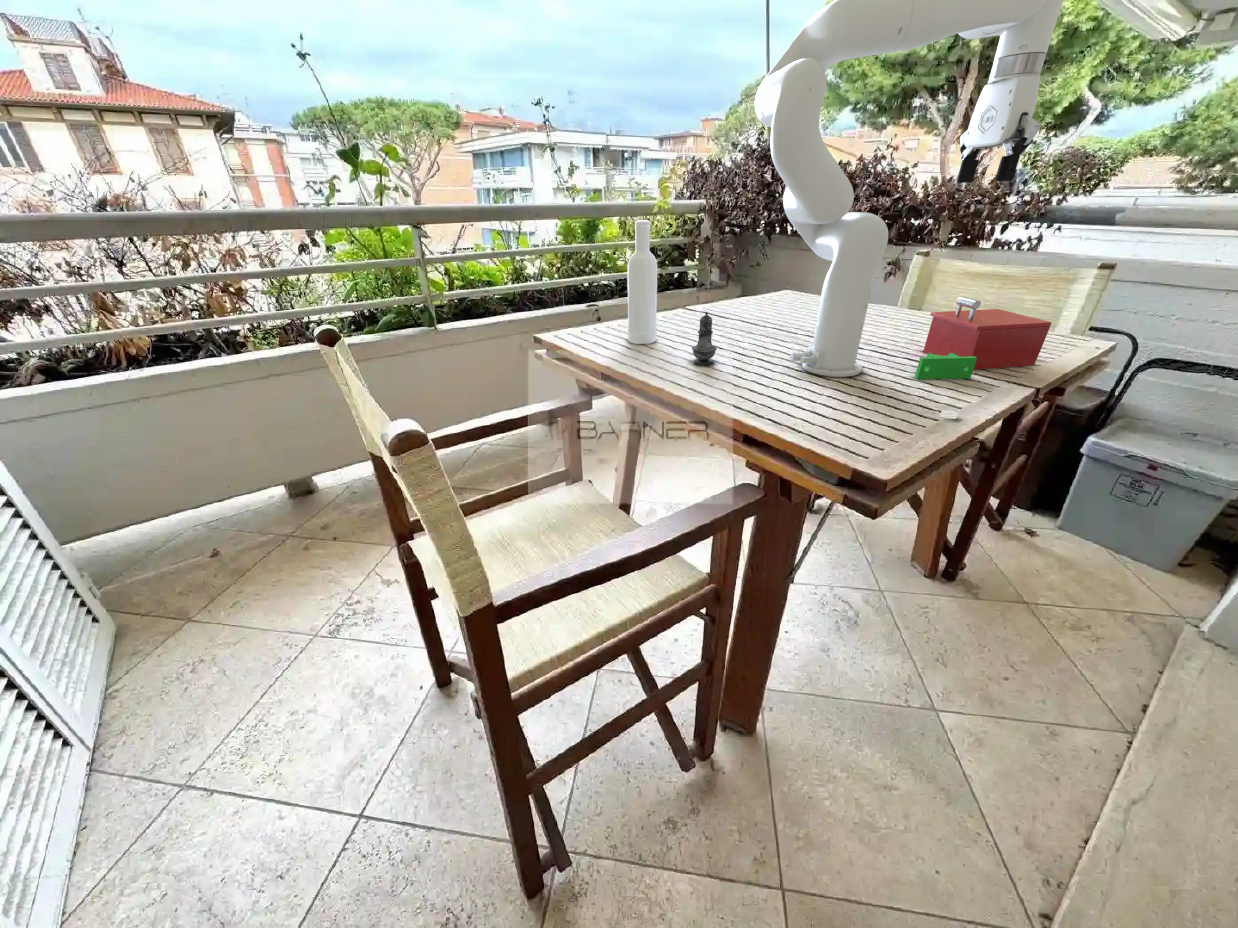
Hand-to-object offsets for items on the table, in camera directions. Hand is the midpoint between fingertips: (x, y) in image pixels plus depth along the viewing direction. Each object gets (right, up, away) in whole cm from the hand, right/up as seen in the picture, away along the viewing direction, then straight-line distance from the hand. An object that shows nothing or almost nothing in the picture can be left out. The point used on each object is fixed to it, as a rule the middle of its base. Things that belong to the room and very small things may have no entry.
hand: (982, 182), depth 95 cm
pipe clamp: (-2, -37, +10) cm, 38 cm away
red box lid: (+13, -23, +16) cm, 30 cm away
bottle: (-65, -21, +40) cm, 79 cm away
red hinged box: (+13, -30, +20) cm, 39 cm away
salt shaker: (-51, -31, +21) cm, 64 cm away
